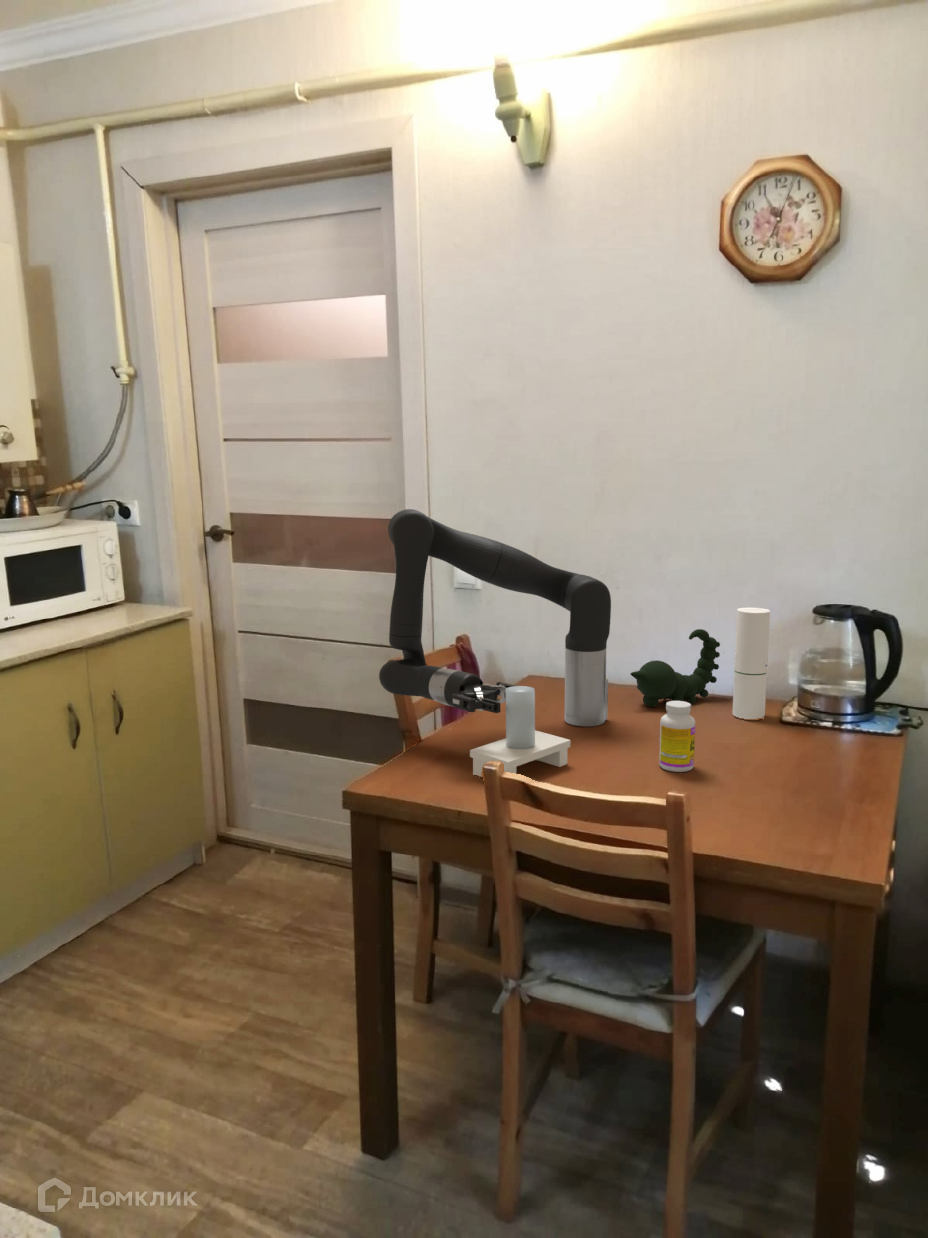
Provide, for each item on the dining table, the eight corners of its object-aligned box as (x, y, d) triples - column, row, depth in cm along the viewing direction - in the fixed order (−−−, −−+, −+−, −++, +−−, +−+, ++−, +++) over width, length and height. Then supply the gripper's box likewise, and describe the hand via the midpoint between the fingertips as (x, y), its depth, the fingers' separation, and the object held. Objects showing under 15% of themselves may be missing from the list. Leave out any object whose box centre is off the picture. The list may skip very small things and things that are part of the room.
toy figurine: (696, 699, 235) (615, 703, 224) (705, 625, 232) (623, 626, 221) (722, 708, 226) (639, 712, 215) (730, 632, 224) (647, 632, 213)
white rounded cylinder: (519, 738, 183) (519, 684, 181) (541, 744, 179) (540, 689, 177) (500, 744, 179) (499, 689, 177) (521, 751, 175) (521, 694, 173)
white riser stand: (532, 752, 190) (532, 729, 189) (570, 764, 183) (570, 740, 182) (470, 774, 177) (470, 750, 176) (508, 788, 170) (508, 762, 169)
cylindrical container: (768, 715, 215) (773, 609, 210) (759, 722, 209) (765, 614, 204) (737, 710, 218) (742, 606, 214) (728, 718, 212) (733, 611, 208)
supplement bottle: (694, 774, 176) (696, 709, 174) (659, 772, 178) (661, 707, 175) (693, 762, 183) (695, 700, 181) (659, 760, 184) (660, 698, 182)
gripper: (430, 677, 184) (489, 691, 173) (479, 665, 194) (538, 678, 183) (430, 713, 186) (489, 730, 175) (479, 699, 196) (538, 714, 184)
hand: (514, 703), depth 179 cm, fingers open, 8 cm apart
